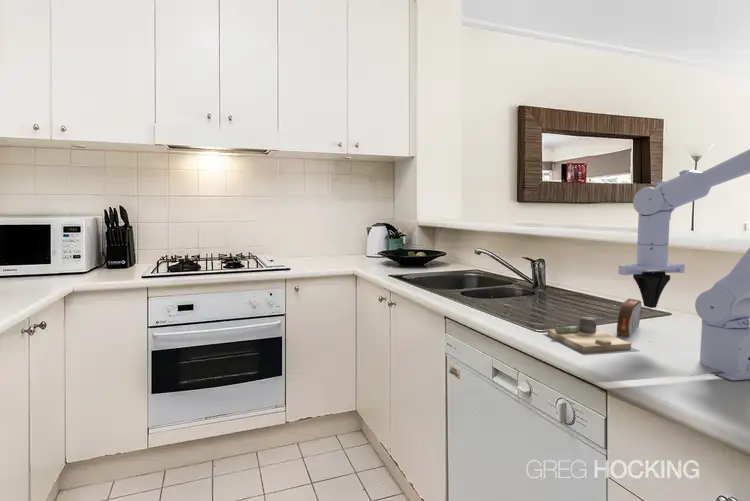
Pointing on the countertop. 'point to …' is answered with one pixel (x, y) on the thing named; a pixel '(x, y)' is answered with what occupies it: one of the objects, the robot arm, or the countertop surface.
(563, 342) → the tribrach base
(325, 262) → the countertop surface
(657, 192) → the robot arm
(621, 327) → the brown and grey slab
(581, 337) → the plate
